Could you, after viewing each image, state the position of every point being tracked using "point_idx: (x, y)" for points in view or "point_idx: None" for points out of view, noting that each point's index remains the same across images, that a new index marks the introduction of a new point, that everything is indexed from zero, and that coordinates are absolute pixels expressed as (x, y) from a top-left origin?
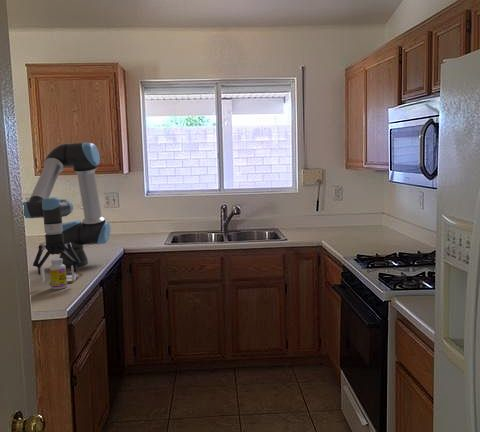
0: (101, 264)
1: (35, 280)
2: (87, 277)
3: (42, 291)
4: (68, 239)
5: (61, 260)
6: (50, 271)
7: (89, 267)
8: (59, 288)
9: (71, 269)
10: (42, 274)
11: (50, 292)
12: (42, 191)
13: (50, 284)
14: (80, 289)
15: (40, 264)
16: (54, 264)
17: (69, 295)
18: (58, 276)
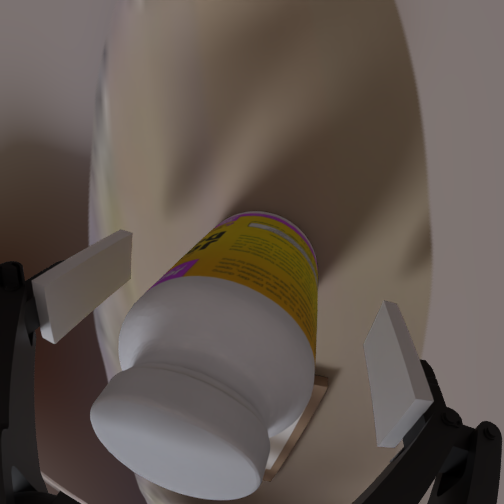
0: (158, 500)
1: (387, 463)
2: None
3: (381, 216)
4: None
5: (96, 399)
6: (306, 321)
7: (186, 500)
8: (251, 212)
9: (69, 270)
10: (396, 346)
11: (316, 149)
12: None
13: (326, 378)
14: (111, 151)
15: (431, 436)
16: (218, 372)
17: (165, 15)
18: (220, 242)
